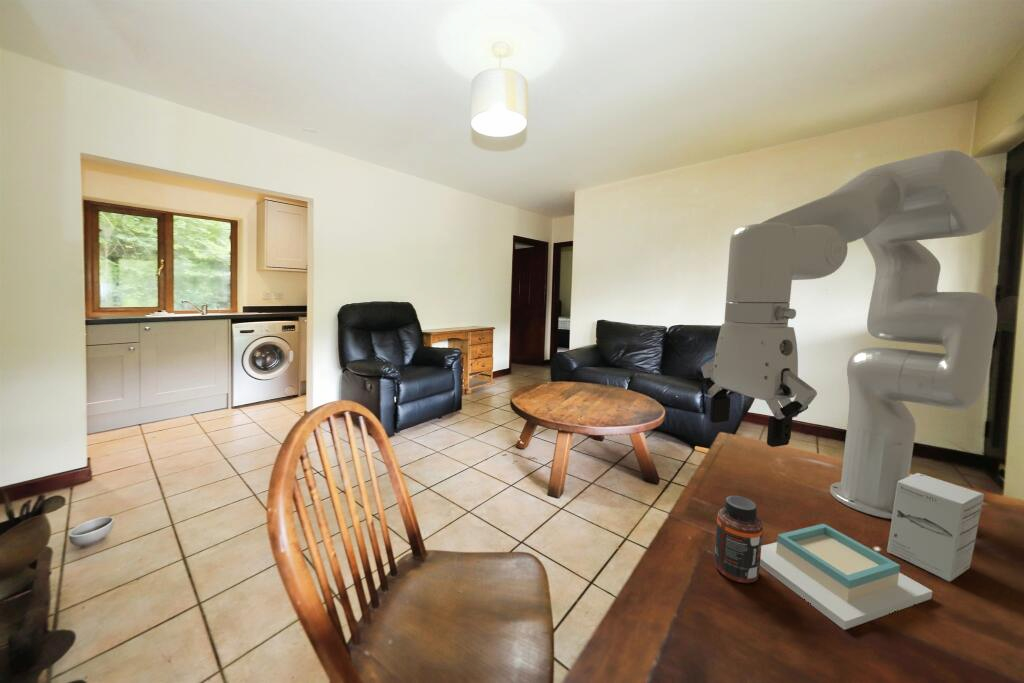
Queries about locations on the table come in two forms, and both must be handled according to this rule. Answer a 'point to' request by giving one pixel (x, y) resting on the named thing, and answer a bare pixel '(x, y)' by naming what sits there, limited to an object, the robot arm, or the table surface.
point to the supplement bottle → (738, 540)
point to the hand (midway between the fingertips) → (746, 432)
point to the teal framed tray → (840, 575)
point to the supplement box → (935, 525)
